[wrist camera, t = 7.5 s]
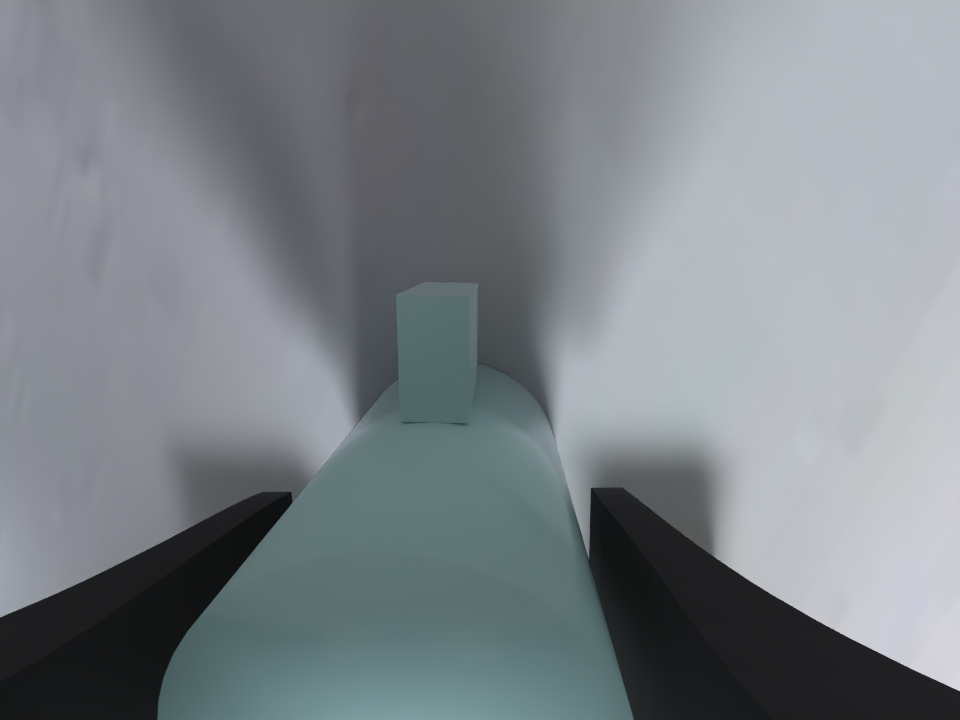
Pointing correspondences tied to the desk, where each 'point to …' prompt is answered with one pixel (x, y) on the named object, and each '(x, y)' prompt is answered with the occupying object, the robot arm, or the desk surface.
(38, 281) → the desk surface
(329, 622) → the teal cylinder with tab
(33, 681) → the robot arm
